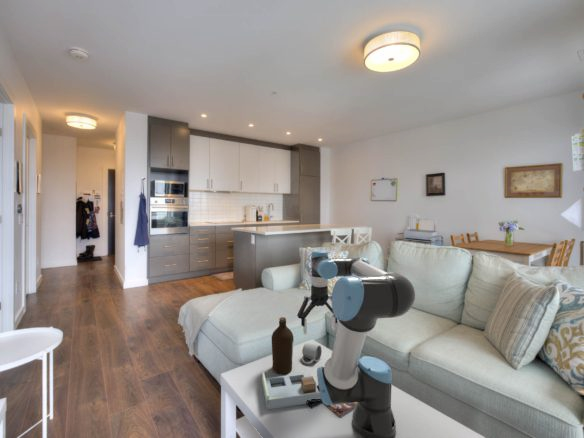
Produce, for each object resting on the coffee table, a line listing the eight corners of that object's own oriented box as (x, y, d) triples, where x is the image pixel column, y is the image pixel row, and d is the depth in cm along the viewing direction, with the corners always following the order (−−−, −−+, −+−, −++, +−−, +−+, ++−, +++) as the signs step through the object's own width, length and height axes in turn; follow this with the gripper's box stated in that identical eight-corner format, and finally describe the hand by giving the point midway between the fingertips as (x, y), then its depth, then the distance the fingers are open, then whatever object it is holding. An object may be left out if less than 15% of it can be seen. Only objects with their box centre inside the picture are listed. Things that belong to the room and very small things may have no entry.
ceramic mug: (308, 352, 152) (308, 339, 151) (322, 357, 148) (322, 343, 147) (298, 362, 143) (298, 348, 142) (312, 367, 139) (312, 352, 138)
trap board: (320, 401, 115) (320, 388, 114) (266, 409, 110) (266, 396, 110) (309, 377, 130) (309, 366, 130) (262, 383, 126) (262, 372, 125)
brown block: (315, 392, 116) (315, 383, 116) (304, 394, 115) (304, 384, 115) (312, 385, 121) (312, 376, 121) (301, 386, 120) (301, 377, 120)
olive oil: (274, 377, 131) (274, 324, 129) (269, 364, 141) (269, 315, 139) (296, 372, 134) (296, 321, 133) (289, 361, 144) (289, 313, 143)
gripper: (341, 281, 134) (341, 325, 135) (290, 284, 128) (290, 330, 129) (348, 285, 127) (348, 332, 127) (294, 288, 121) (294, 337, 122)
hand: (319, 331), depth 128 cm, fingers open, 13 cm apart
